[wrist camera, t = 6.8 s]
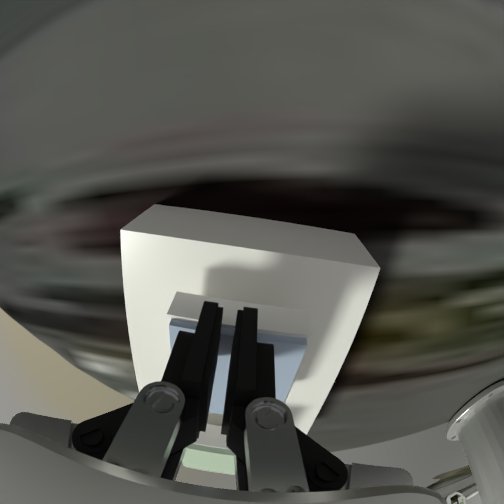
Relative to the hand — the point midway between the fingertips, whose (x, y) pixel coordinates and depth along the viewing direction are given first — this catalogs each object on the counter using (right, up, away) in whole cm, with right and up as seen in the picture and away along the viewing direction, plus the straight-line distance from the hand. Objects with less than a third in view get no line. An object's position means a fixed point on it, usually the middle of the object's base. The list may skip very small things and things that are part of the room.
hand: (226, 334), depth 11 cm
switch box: (0, -4, +11) cm, 12 cm away
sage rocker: (-1, -12, +7) cm, 13 cm away
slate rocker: (0, -2, +3) cm, 4 cm away
